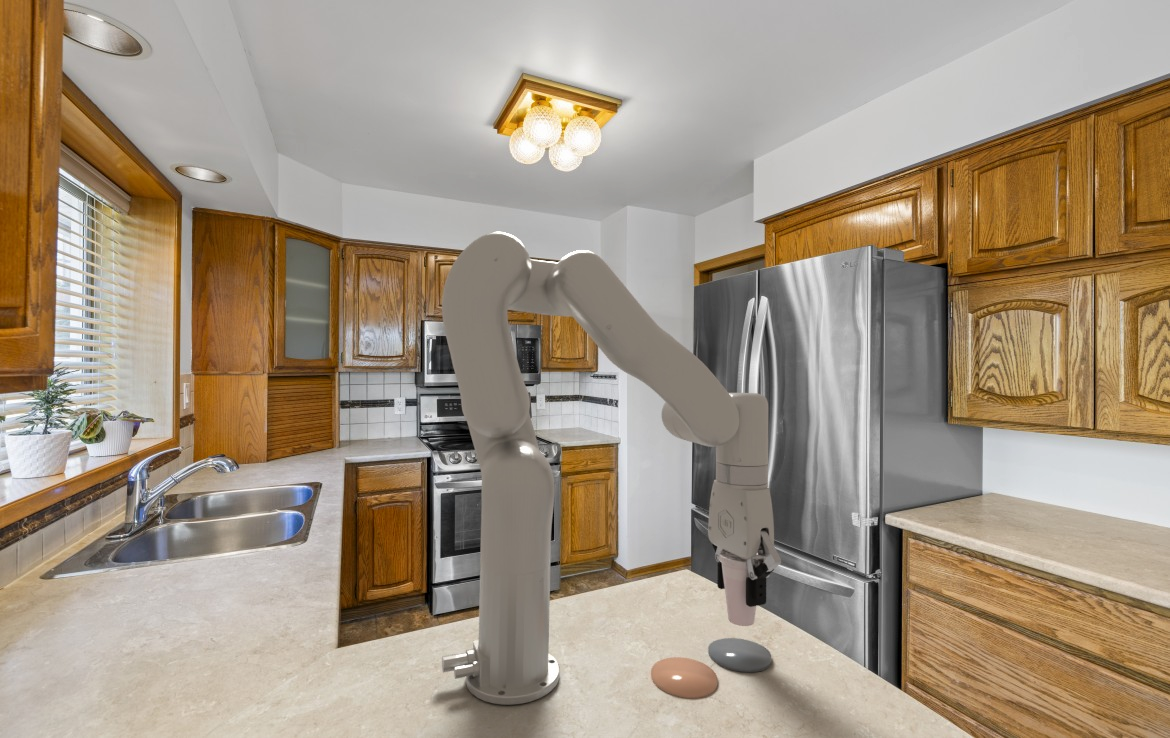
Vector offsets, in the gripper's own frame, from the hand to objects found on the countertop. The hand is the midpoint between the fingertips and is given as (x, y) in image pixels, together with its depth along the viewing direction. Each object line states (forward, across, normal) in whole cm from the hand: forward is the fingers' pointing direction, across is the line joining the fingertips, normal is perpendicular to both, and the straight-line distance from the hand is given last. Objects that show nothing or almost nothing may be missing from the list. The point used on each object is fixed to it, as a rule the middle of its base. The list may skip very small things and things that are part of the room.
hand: (741, 594), depth 78 cm
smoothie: (+4, 0, 0) cm, 4 cm away
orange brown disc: (+9, +2, -11) cm, 15 cm away
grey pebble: (+9, 0, 0) cm, 9 cm away
